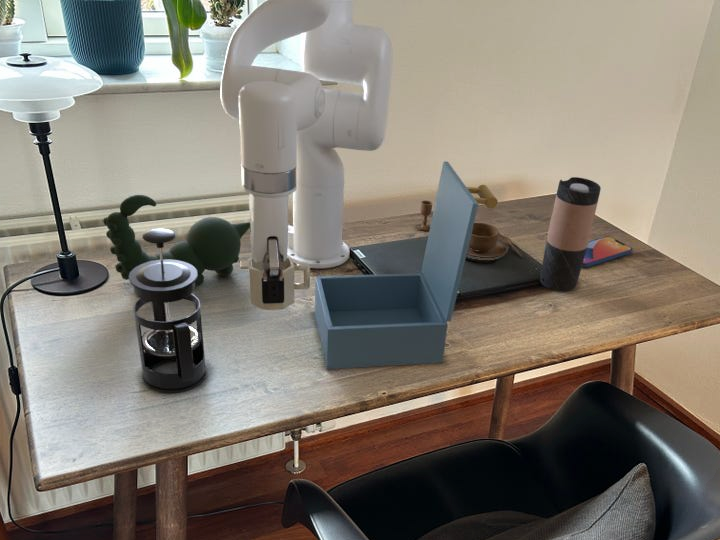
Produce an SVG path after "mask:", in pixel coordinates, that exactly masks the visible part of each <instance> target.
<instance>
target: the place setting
mask: <svg viewBox="0 0 720 540" xmlns="http://www.w3.org/2000/svg"><path fill="white" fill-rule="evenodd" d="M419 211H420V214H421V216H422V218H423V219H422V224H419V225H417V230H419V231H422V232H429V231H430V226H431V225H427V223H428V217H429V216H430V215H431V213H432V212H433V202H432V201H431V200H421V202H420V209H419ZM499 234H500V230H499V229H498V228H497V227H495V226H494V225H492V224H490V223H486V222H474V225H473V229H472V233H471V238H470V242H469V246H468V250H467V255H470V256H473V257H480V258H495V257H499V256H502V255H504V254H506V253H507V254H508V252H509V248H510V247H509V246H511V248H512V249H513V250H514V251H515V253H517V255H518V256H519V257H521V258H523V255H522V252H520V251H519V249H517V248H516V247H515V246H514V244H513V240H512V239H511V238H510V237H508V236H506V235H502V236H501V237H500V236H499ZM498 239H499V240H501V241H502V242H503V243H504V244H505V245H506V247H507V249H506V248H505V246H504V245H503V244H502V243H500V242H499V241H497V240H498ZM469 247H470V248H469ZM471 248H472V249H471ZM473 249H474V250H473ZM475 250H479V251H475ZM507 251H508V252H507ZM507 254H506V255H507ZM504 257H505V256H503V257H501V258H499V259H494V260H478V259H472V258H468V257H466V259H465V260H469V261H473V262H479V263H489V262H494V261H498V260H501V259H503V258H504Z"/></svg>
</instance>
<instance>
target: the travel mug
mask: <svg viewBox="0 0 720 540" xmlns="http://www.w3.org/2000/svg"><path fill="white" fill-rule="evenodd" d="M601 189H602V188H601V185H600V184H598V183H597V182H595V181H594V180H591V179H588V178H584V177H577V176H571V177H570V178H569V179H567V180H563V179H560V180H559V181H558V186H557V190H556V195H555V200H554V204H553V209H552V214H551V217H550V223H549V227H548V232H547V236H546V241H545V246H544V252H543V258H542V263H541V270H540V276H539V281H540V284H541V285H542V286H544V287H545V288H547V289H549V290H552V291H556V292H570V291H572V290H574V289H576V287H577V284H578V281H579V278H580V275H581V271H582V268H583V267H582V264H583V260H584V257H585V253H586V250H587V246H588V242H589V241H590V237H591V233H592V230H593V229H592V228H593V224H594V221H595V215H596V211H597V206H598V203H599V199H600V194H601ZM541 274H542V276H543V278H544V281H543V280H542V278H541Z"/></svg>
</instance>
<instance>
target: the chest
mask: <svg viewBox="0 0 720 540" xmlns="http://www.w3.org/2000/svg"><path fill="white" fill-rule="evenodd" d="M314 316H315V320H316V326H317V331H318V334H319V339H320V344H321V350H322V352H323V358H324V361H325V362H324V363H325V366H326V367H325V368H326V370H336V369H337V370H338V369H357V368H372V367H373V368H374V367H390V366H392V367H393V366H406V365H407V366H409V365H425V364H429V365H430V364H442V363H444V357H445V356H444V355H445V348H446V340H447V334H448V326H449V324H448V322H446V321H445V318H444V316H443V314H442V312H441V310H440V308H439V306H438V304H437V302H436V300H435V298H434V296H433V294H432V291H431V289H430V287H429V285H428V283H427V281H426V279H425V277H424V275H423V273H422V272H418V273H386V274H385V273H383V274H381V273H380V274H379V273H378V274H354V275H353V274H352V275H351V274H348V275H347V274H346V275H320V276H319V275H316V276H315V278H314Z"/></svg>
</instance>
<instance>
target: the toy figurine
mask: <svg viewBox="0 0 720 540" xmlns="http://www.w3.org/2000/svg"><path fill="white" fill-rule="evenodd" d="M146 206H151V207H156V206H157V202H156V201H155V200H154V199H153V198H151V197H150V196H147V195H144V194H133V195H130V196H128V197H127V198H124V200H123V201H121V203H120V205H119V211H114V212H110V214H108V216H106V217H104V218H103V220H102V222H103V224H104V225H105V226H106V227H107V229H108V230H107V231H106V234H105V235H106V237H107V238H108V239H109V240H110V242H111V243H112V244H113V245H112V246H110V248H109V251H110V253H111V254H112V255H115V256H116V260H117V261H118V262H117V263H116V265H115V267H114V268H115V270H116V272H117V273H120V276H121V278H122V279H123V280H125V281H129V274H130V272H131V271H132V270H133V269H134V268H135V267H137V266H139V265H141V264H143V263H146V262H150V261H154V260H160V252H158V253H157V254H155V255H149V254H148V253H146V251H144V250H143V249H142V245H141V244H140V242H139V241H138V240H137V239H136V233H135V231H134V229H133V228H132V227H131V226H130V219H129V218H128V217H131V216H133V215H134V214H135V213H136V212H137V211H138V210H139V209H141V208H142V207H146ZM248 230H250V221H249V222H248V221H247V222H239V223H231V222H230V221H228V220H226V219H224V218H221V217H216V216H208V217H204V218H201V219H199V220H197V221H196V222H195V223H194V224H192V225H191V227H190V228H189V230H188V232H187V234H186V237H185V240H181V241H177V242H175V243H174V244H173V245H172V246H171V247H170V248H169V250H168V251H162V254H163V260H164V259H170V260H179V261H183V262H186V263H189V264H191V265H192V266H194V267H195V268H196V270H197V274H198V276H197V279H196V281H195V287H198V286H201V285H203V283H204V282H205V276H204V274H203V273H204V272H205V271H211V272H215V273H216V274H217V275H219V276H222V277H227V276H229V275H231V274H232V273H233V272H234V266H233V264H236V263H238V262H239V260H240V257H239V255H240V251H241V245H242V244H241V243H242V242H241V239H242V237H243V236H244V235H245V234H246V233H247V232H248Z"/></svg>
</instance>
